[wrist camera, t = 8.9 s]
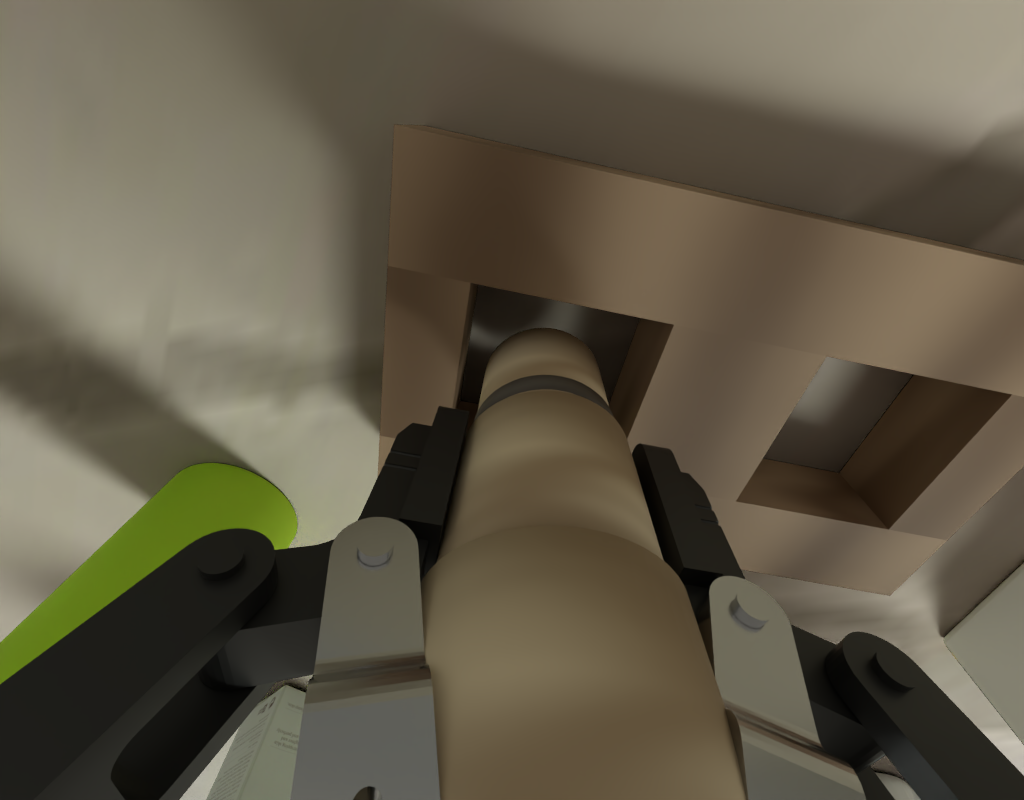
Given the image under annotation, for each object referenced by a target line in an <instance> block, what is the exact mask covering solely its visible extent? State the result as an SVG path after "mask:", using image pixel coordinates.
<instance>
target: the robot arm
mask: <svg viewBox="0 0 1024 800" xmlns="http://www.w3.org/2000/svg"><path fill="white" fill-rule="evenodd" d="M468 419H469V411H465V410H459V409H454V408H448V407H443V406H439V407H438V410H437V413H436V415H435V418H434V421H433V424H432V426H429V425H423V424H418V423H411V424H410V425H409V426H407V427H406V428H405V429H404V430H402V431H401V432H400V433H398V434H397V436H396V439H395V441H394V443H393V445H392V447H391V450H390V453H389V454H388V456H387V458H386V461H385V463H384V466H383V467H382V469H381V472H380V474H379V476H378V478H377V480H376V483H375V485H374V487H373V489H372V491H371V494H370V496H369V498H368V500H367V502H366V504H365V507H364V509H363V511H362V513H361V515H360V517H359V519H358V521H356V522H354V523H352V524H350V525H349V526H347V527H346V528H344V529H343V530H342V531H341V532H340V533H339V534H338V535H337V537H336V538H335V539H334V540H331V541H329V542H326V543H322V544H319V545H313V546H306V547H296V548H287V549H278V550H275V549H274V546H273V544H272V542H271V541H270V540H269V539H268V538H267V537H266V536H265V535H263V534H262V533H260V532H257V531H255V530H250V529H243V528H234V529H226V530H220V531H217V532H213V533H210V534H208V535H205V536H203V537H201V538H199V539H197V540H195V541H194V542H192V543H191V544H189V545H188V546H186V547H185V548H183V549H182V550H181V551H179V552H178V553H177V554H175V555H174V556H173V557H171V558H170V559H169V560H167V561H166V562H164V563H163V564H162V565H160V566H159V567H158V568H156V569H155V570H154V571H152V572H151V573H150V574H148V575H147V576H146V577H144V578H143V579H142V580H140V581H139V582H137V583H136V584H135V585H133V586H132V587H131V588H129V589H128V590H127V591H125V592H124V593H123V594H121V595H120V596H119V597H117V598H116V599H115V600H113V601H112V602H110V603H109V604H108V605H106V606H105V607H104V608H102V609H101V610H100V611H98V612H97V613H96V614H94V615H93V616H92V617H90V618H89V619H88V620H86V621H85V622H83V623H82V624H81V625H79V626H78V627H77V628H75V629H74V630H73V631H71V632H70V633H69V634H67V635H66V636H65V637H63V638H62V639H60V640H59V641H58V642H56V643H55V644H54V645H52V646H51V647H50V648H48V649H47V650H46V651H44V652H43V653H42V654H40V655H39V656H38V657H36V658H35V659H33V660H32V661H31V662H29V663H28V664H27V665H25V666H24V667H23V668H21V669H20V670H19V671H17V672H16V673H15V674H13V675H12V676H11V677H9V678H8V679H6V680H5V681H4V682H2V683H1V684H0V800H179V799H180V798H181V797H182V796H183V794H184V793H185V792H186V791H187V789H188V788H189V787H190V786H191V785H192V783H193V782H194V781H195V780H196V779H197V777H198V776H199V775H200V774H201V772H202V771H203V770H204V769H205V768H206V766H207V765H208V764H209V763H210V762H211V760H212V759H213V758H214V757H215V755H216V754H217V753H218V752H219V751H220V749H221V748H222V747H223V746H224V745H225V743H226V742H227V741H228V740H229V738H230V737H231V736H232V735H233V734H234V732H235V731H236V730H237V729H238V727H239V726H240V725H241V724H242V723H243V721H244V720H245V719H246V718H247V717H248V715H249V714H250V713H251V712H252V710H253V709H254V708H255V707H256V706H257V704H258V703H259V702H260V701H261V700H262V698H263V697H264V696H265V695H266V693H267V692H268V691H269V690H270V689H271V687H272V686H273V685H274V684H275V683H276V682H277V681H282V680H287V679H292V678H297V677H302V676H307V675H312V674H313V677H312V678H311V679H310V680H309V683H308V687H307V691H306V696H305V702H304V708H303V714H302V721H301V728H300V735H299V742H298V749H297V756H296V763H295V770H294V777H293V784H292V791H291V798H290V800H440V789H439V774H438V760H437V746H436V731H435V717H434V703H433V689H432V679H431V672H430V667H429V664H427V663H426V659H425V651H424V635H423V618H422V602H421V585H420V583H421V581H422V579H423V578H424V576H425V575H426V574H427V572H428V571H429V570H430V568H431V567H433V566H434V565H435V564H436V562H437V558H438V553H439V549H440V544H441V540H442V535H443V531H444V527H445V522H446V518H447V513H448V509H449V504H450V500H451V496H452V491H453V487H454V482H455V478H456V474H457V469H458V465H459V461H460V456H461V452H462V448H463V443H464V439H465V436H466V431H467V425H468ZM632 457H633V460H634V464H635V467H636V470H637V474H638V477H639V480H640V484H641V487H642V490H643V494H644V497H645V500H646V504H647V507H648V510H649V514H650V517H651V520H652V524H653V527H654V530H655V534H656V537H657V540H658V544H659V547H660V550H661V554H662V557H663V560H664V562H666V563H667V564H668V565H669V566H670V567H671V568H672V569H673V570H674V572H675V573H676V574H677V575H678V576H679V578H680V579H681V581H682V583H683V584H684V586H685V588H686V591H687V594H688V597H689V600H690V603H691V606H692V609H693V612H694V615H695V618H696V621H697V624H698V627H699V630H700V633H701V636H702V639H703V642H704V645H705V648H706V651H707V654H708V657H709V660H710V663H711V666H712V669H713V672H714V676H715V679H716V682H717V685H718V688H719V691H720V694H721V697H722V700H723V703H724V706H725V712H726V716H727V720H728V724H729V728H730V731H731V735H732V739H733V743H734V747H735V751H736V755H737V759H738V764H739V768H740V773H741V778H742V782H743V787H744V791H745V796H746V800H1024V776H1023V775H1022V774H1021V772H1020V771H1019V770H1018V769H1017V768H1016V767H1015V766H1014V765H1013V764H1012V763H1011V762H1010V761H1009V760H1008V759H1007V758H1006V757H1005V756H1004V755H1003V754H1002V753H1001V752H1000V751H999V750H998V749H997V747H996V746H995V745H994V744H993V743H992V742H991V741H990V740H989V739H988V738H987V737H986V736H985V735H984V734H983V733H982V732H981V731H980V730H979V729H978V728H977V727H976V726H975V725H974V724H973V722H972V721H971V720H970V719H969V718H968V717H967V716H966V715H965V714H964V713H963V712H962V711H961V710H960V709H959V708H958V707H957V706H956V705H955V704H954V703H953V702H952V701H951V700H950V699H949V697H948V696H947V695H946V694H945V693H944V692H943V691H942V690H941V689H940V688H939V687H938V686H937V685H936V684H935V683H934V682H933V681H932V680H931V679H930V678H929V677H928V676H927V675H926V674H925V672H924V671H923V670H922V669H921V668H920V667H919V666H918V665H917V664H916V663H915V662H914V661H913V660H912V659H910V658H909V657H908V656H907V655H906V654H905V653H903V652H902V651H901V650H899V649H898V648H897V647H895V646H894V645H892V644H890V643H889V642H887V641H885V640H883V639H881V638H879V637H877V636H874V635H872V634H868V633H864V632H852V633H850V634H848V635H847V636H846V637H845V638H844V639H843V640H842V641H841V642H840V643H838V644H837V645H835V644H833V643H831V642H829V641H826V640H824V639H822V638H820V637H817V636H815V635H813V634H811V633H809V632H806V631H804V630H802V629H800V628H797V627H795V626H793V625H791V624H790V621H789V619H788V617H787V615H786V613H785V612H784V610H783V609H782V607H781V606H780V605H779V604H778V603H777V601H776V600H775V599H774V598H773V597H772V596H771V595H769V594H768V593H767V592H766V591H765V590H763V589H762V588H760V587H759V586H757V585H755V584H754V583H752V582H750V581H748V580H745V577H744V575H743V573H742V571H741V569H740V567H739V564H738V562H737V560H736V558H735V556H734V554H733V551H732V549H731V547H730V545H729V543H728V541H727V539H726V536H725V534H724V532H723V530H722V528H721V526H719V525H718V523H719V521H718V519H717V517H716V515H715V513H714V511H712V506H711V504H710V502H709V500H708V497H707V495H706V493H705V491H704V489H703V488H702V487H701V486H700V485H699V484H698V483H697V482H696V481H695V480H694V478H693V477H692V476H691V475H690V474H689V473H684V472H681V471H680V468H679V466H678V464H677V461H676V459H675V456H674V454H673V452H672V451H671V449H668V448H662V447H657V446H652V445H646V444H641V443H639V444H637V445H636V446H635V448H634V450H633V452H632ZM885 755H886V756H887V757H888V758H889V760H890V761H891V762H892V763H893V765H894V766H895V767H896V768H897V770H898V771H899V772H900V774H901V775H902V776H903V777H904V779H905V780H906V781H907V782H906V781H904V780H902V779H900V778H898V777H894V776H891V775H888V774H882V773H876V772H874V771H873V769H872V768H871V767H870V765H872V764H873V763H875V762H876V761H878V760H879V759H881V758H882V757H884V756H885Z"/></svg>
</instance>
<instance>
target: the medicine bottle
mask: <svg viewBox="0 0 1024 800" xmlns="http://www.w3.org/2000/svg"><path fill="white" fill-rule="evenodd" d="M943 641H944V643H945V645H946V647H947V648H948V649H949V651H950V652H951V653H952V654H953V656H954V657H955V658H956V659H957V661H958V662H959V663H960V665H961V666H962V667H963V668H964V670H965V671H966V672H967V673H968V675H969V676H970V677H971V679H972V680H973V681H974V682H975V684H976V685H977V686H978V687H979V689H980V690H981V691H982V693H983V694H984V695H985V696H986V698H987V699H988V700H989V701H990V703H991V704H992V705H993V706H994V708H995V709H996V710H997V712H998V713H999V714H1000V715H1001V717H1002V718H1003V719H1004V720H1005V722H1006V723H1007V724H1008V726H1009V727H1010V728H1011V729H1012V731H1013V732H1014V733H1015V734H1016V736H1017V737H1018V738H1019V740H1020V741H1021V742H1022V743H1023V745H1024V563H1023V564H1022V565H1021V566H1020V567H1018V568H1017V569H1016V570H1015V571H1014V572H1013V573H1012V574H1011V575H1010V576H1009V577H1008V578H1007V579H1006V580H1005V581H1004V582H1002V583H1001V584H1000V585H999V586H998V587H997V588H996V589H995V590H994V591H993V592H992V593H991V594H990V595H989V596H988V597H986V598H985V599H984V600H983V601H982V602H981V603H980V604H979V605H978V606H977V607H976V608H975V609H974V610H973V611H972V612H971V613H969V614H968V615H967V616H966V617H965V618H964V619H963V620H962V621H961V622H960V623H959V624H958V625H957V626H956V627H955V628H953V629H952V630H951V631H950V632H949V633H948V634H947V635H946V636H945V637H944V640H943Z"/></svg>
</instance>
